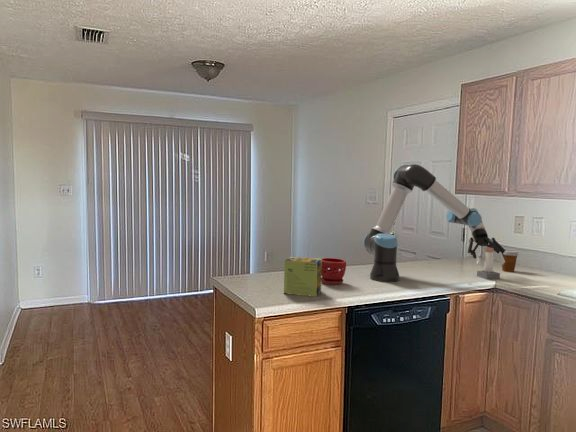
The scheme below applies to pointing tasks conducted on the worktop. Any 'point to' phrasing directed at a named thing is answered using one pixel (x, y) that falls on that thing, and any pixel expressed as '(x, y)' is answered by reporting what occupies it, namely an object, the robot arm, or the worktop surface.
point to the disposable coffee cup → (509, 260)
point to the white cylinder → (488, 260)
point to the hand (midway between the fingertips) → (491, 263)
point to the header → (488, 275)
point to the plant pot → (332, 271)
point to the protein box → (302, 276)
